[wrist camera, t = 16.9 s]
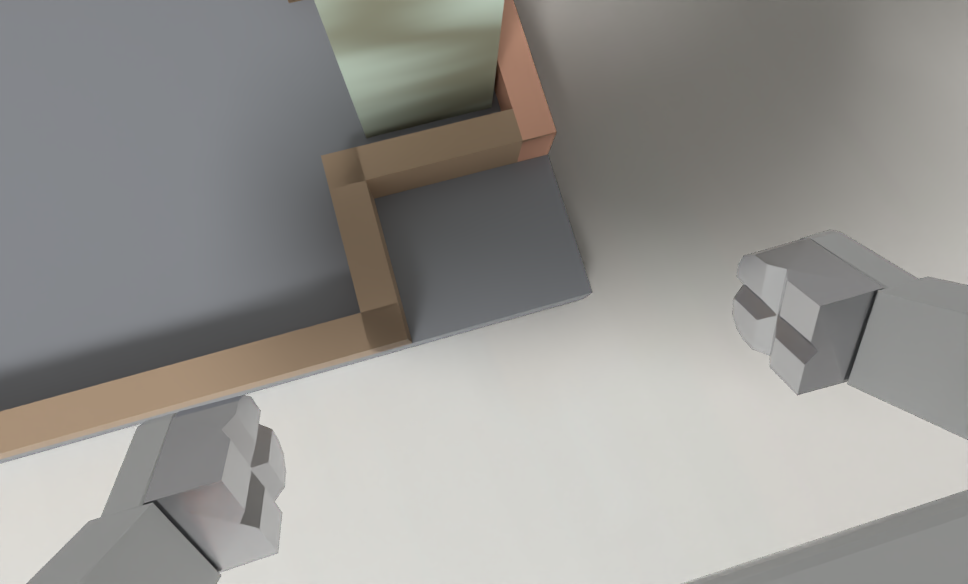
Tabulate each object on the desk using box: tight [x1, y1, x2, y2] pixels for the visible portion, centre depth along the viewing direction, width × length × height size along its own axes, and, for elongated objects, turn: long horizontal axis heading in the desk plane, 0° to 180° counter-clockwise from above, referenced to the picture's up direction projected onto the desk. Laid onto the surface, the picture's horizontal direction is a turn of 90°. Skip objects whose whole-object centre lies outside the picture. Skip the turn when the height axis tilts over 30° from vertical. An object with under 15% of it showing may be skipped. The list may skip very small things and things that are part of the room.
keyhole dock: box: [0, 0, 592, 463], centre depth 16 cm, size 25×17×3 cm
